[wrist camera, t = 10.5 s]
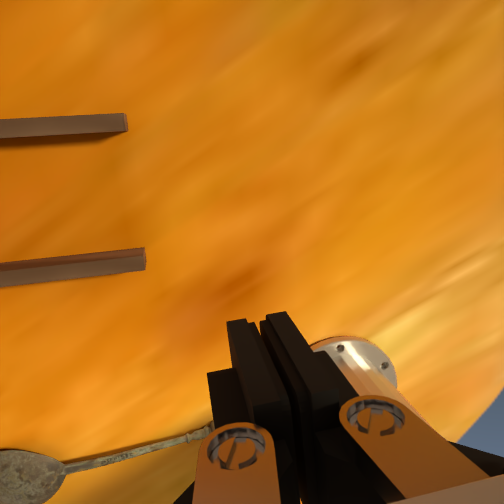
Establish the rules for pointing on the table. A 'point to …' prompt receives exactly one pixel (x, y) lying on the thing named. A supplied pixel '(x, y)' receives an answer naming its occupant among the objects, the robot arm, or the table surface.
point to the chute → (70, 264)
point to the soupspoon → (61, 469)
